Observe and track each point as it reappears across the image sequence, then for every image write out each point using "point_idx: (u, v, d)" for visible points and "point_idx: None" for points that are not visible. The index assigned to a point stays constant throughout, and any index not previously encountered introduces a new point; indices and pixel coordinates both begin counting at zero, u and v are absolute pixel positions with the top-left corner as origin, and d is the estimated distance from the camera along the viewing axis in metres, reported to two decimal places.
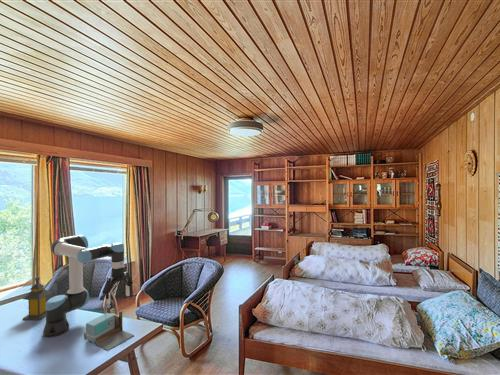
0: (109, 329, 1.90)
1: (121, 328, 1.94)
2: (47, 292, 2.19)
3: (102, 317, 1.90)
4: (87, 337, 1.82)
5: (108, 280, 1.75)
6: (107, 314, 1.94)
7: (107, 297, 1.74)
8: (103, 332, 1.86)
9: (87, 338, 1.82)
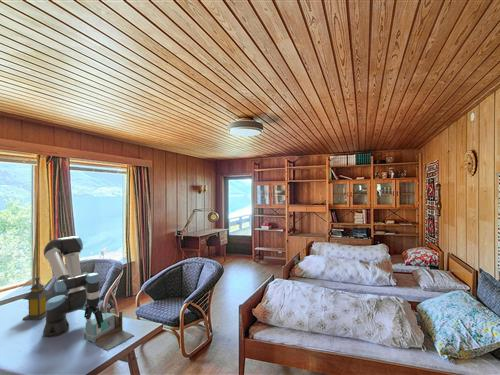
0: (109, 329, 1.90)
1: (121, 328, 1.94)
2: (47, 292, 2.19)
3: None
4: (87, 337, 1.82)
5: None
6: (107, 314, 1.94)
7: None
8: (103, 332, 1.86)
9: (87, 338, 1.82)
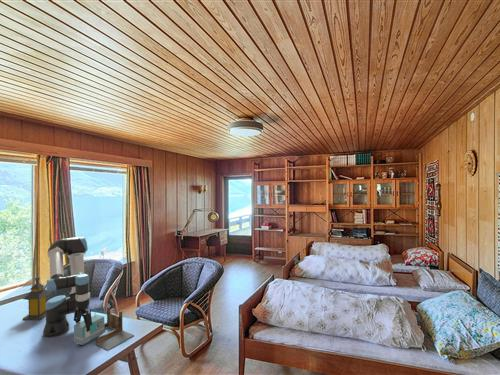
0: (98, 331, 1.84)
1: (121, 328, 1.94)
2: (47, 292, 2.19)
3: None
4: (75, 340, 1.77)
5: None
6: (96, 316, 1.89)
7: None
8: (92, 334, 1.80)
9: (75, 341, 1.77)
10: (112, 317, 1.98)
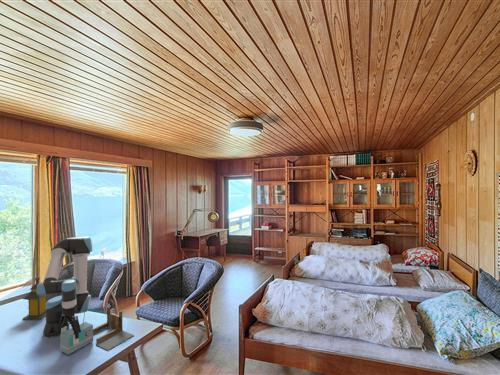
0: (86, 340, 1.77)
1: (121, 328, 1.94)
2: None
3: None
4: (61, 348, 1.70)
5: None
6: (85, 323, 1.81)
7: None
8: (79, 343, 1.73)
9: (61, 350, 1.70)
10: (112, 317, 1.98)
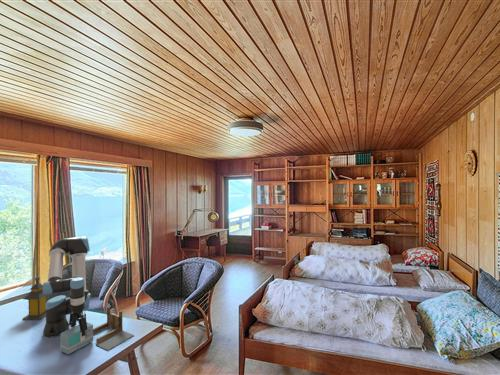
0: (86, 340, 1.77)
1: (121, 328, 1.94)
2: None
3: (79, 327, 1.77)
4: (61, 348, 1.70)
5: None
6: None
7: None
8: (79, 343, 1.73)
9: (61, 349, 1.70)
10: (112, 317, 1.98)
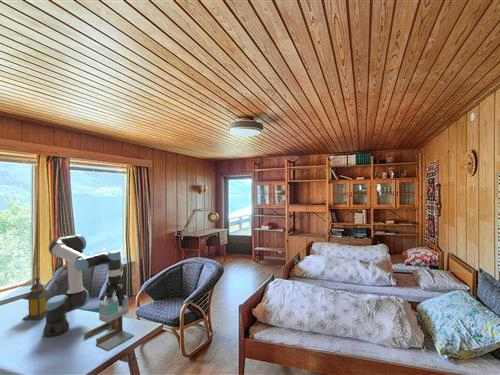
0: (122, 310, 1.84)
1: (121, 328, 1.94)
2: (47, 292, 2.19)
3: (115, 298, 1.84)
4: (100, 317, 1.76)
5: None
6: None
7: None
8: (116, 313, 1.80)
9: (100, 318, 1.76)
10: None
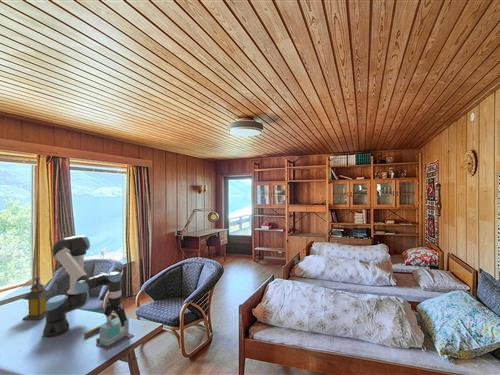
0: (123, 332, 1.84)
1: None
2: (47, 292, 2.19)
3: (116, 320, 1.84)
4: (101, 340, 1.77)
5: None
6: None
7: None
8: (117, 336, 1.80)
9: (101, 341, 1.77)
10: (112, 317, 1.98)
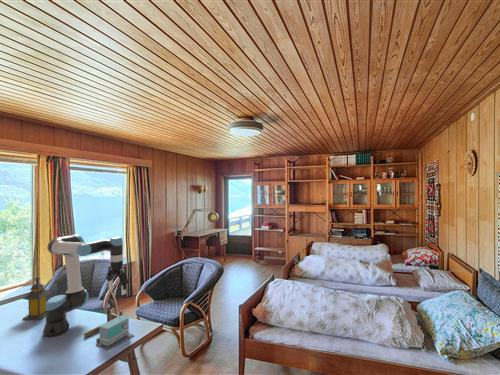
0: (123, 332, 1.84)
1: None
2: (47, 292, 2.19)
3: (116, 320, 1.84)
4: (101, 340, 1.77)
5: None
6: (121, 317, 1.89)
7: None
8: (117, 336, 1.80)
9: (101, 341, 1.77)
10: (112, 317, 1.98)
